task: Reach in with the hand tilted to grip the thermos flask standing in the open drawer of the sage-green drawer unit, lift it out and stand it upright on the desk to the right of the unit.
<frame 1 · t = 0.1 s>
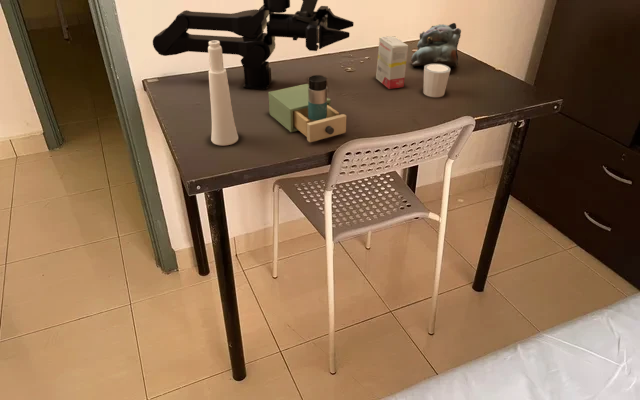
hand: (351, 29, 127), 17 cm above the table, tool horizontal, fingers open, 9 cm apart
drawer unit: (299, 118, 123), on the table
cosmetic bottle: (225, 140, 114), on the table
lucky cat figurine: (432, 66, 153), on the table
ink box: (389, 83, 142), on the table
thermos flask: (317, 125, 116), point 2 cm above the table, touching drawer
white cylinder: (433, 93, 136), on the table
drawer: (317, 121, 115), point 3 cm above the table, slide at 6.4 cm, touching thermos flask
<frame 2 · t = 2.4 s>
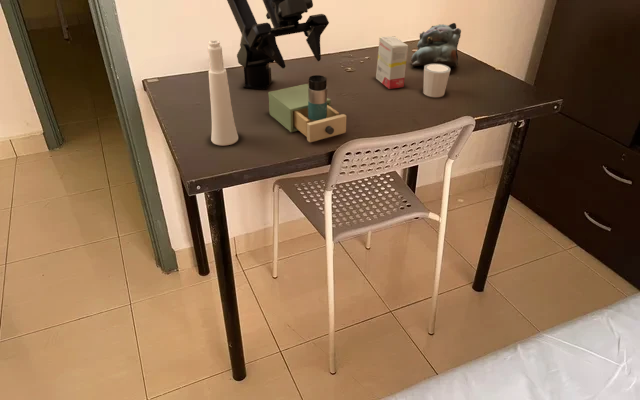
hand: (302, 63, 114), 14 cm above the table, tool tilted 45°, fingers open, 9 cm apart
nothing on the table moved.
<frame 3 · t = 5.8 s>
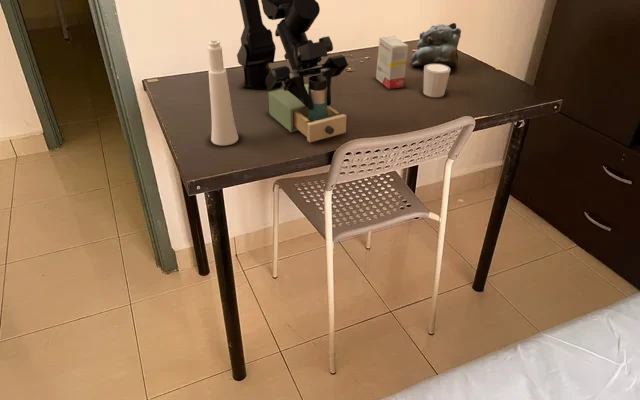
hand: (320, 107, 112), 7 cm above the table, tool tilted 45°, fingers closed on thermos flask, 4 cm apart
thermos flask: (317, 125, 116), point 2 cm above the table, touching drawer, gripper
everything else where it was.
when the fingers open (5 cm above the table, at t = 13.0 s): thermos flask stays where it is, on the table.
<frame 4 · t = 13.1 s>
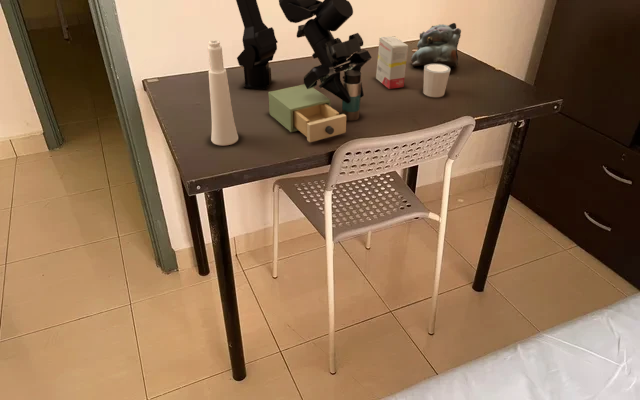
hand: (355, 99, 120), 5 cm above the table, tool tilted 45°, fingers open, 4 cm apart
thermos flask: (350, 116, 124), on the table
drawer: (317, 121, 115), point 3 cm above the table, slide at 6.4 cm
everything else where it was.
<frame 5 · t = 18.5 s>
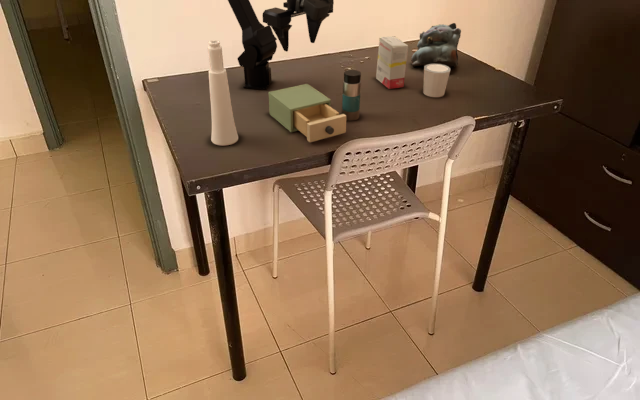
hand: (299, 46, 126), 13 cm above the table, tool pointing down, fingers open, 9 cm apart
nothing on the table moved.
at the end: thermos flask 0.0 cm from the target spot, on the table; thermos flask tilted 0°; the gripper is holding nothing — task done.
